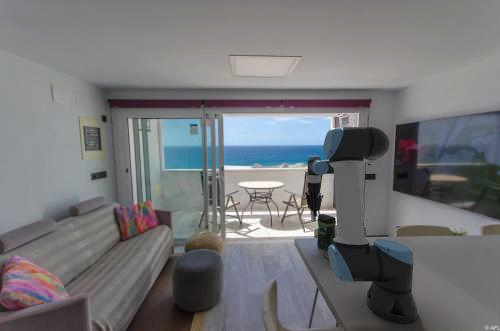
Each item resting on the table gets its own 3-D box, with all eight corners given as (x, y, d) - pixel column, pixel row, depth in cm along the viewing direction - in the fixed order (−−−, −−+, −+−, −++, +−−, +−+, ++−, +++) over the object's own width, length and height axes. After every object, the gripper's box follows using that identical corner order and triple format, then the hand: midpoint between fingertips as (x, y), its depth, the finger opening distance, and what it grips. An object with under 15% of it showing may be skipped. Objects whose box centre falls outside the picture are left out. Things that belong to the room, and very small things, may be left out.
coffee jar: (338, 248, 125) (338, 216, 124) (328, 252, 121) (329, 218, 120) (324, 242, 134) (324, 211, 132) (314, 245, 129) (315, 214, 128)
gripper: (327, 182, 129) (326, 223, 131) (310, 180, 140) (310, 217, 142) (317, 184, 125) (317, 225, 127) (301, 181, 137) (301, 219, 139)
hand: (313, 221), depth 135 cm, fingers closed
